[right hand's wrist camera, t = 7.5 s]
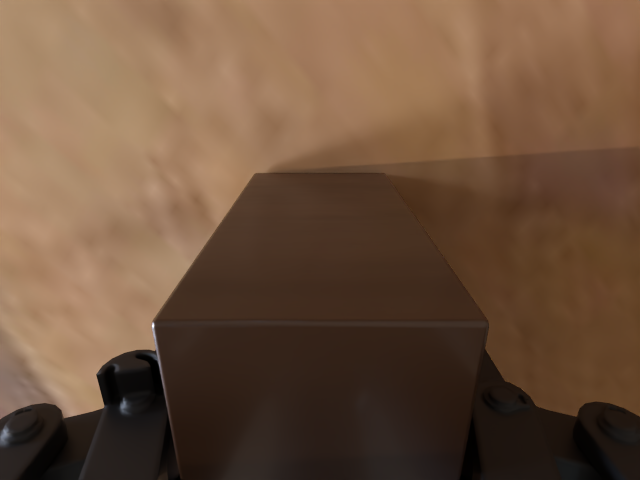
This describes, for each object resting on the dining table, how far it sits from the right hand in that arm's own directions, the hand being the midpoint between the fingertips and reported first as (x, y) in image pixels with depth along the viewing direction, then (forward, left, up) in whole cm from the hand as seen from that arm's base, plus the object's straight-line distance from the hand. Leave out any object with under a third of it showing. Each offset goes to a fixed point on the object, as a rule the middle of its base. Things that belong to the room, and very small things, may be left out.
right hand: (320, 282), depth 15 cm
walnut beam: (0, -10, 0) cm, 10 cm away
